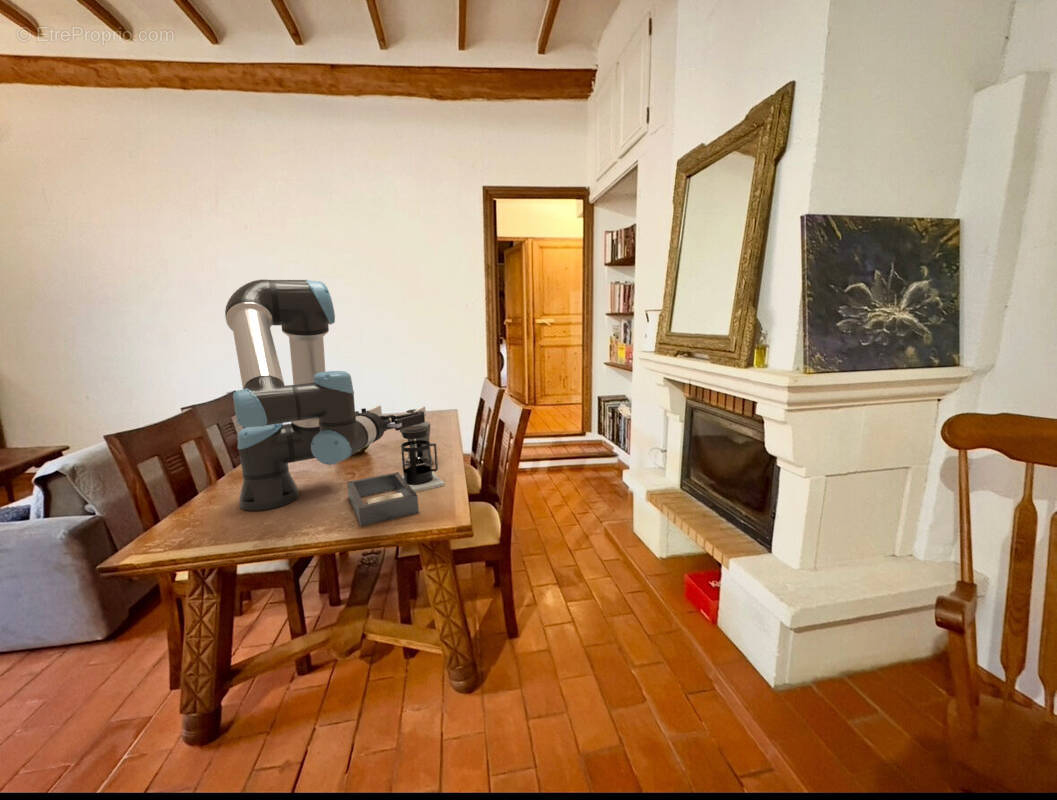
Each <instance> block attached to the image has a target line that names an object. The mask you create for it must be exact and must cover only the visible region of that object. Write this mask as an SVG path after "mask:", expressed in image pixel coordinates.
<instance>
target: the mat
mask: <svg viewBox="0 0 1057 800" xmlns="http://www.w3.org/2000/svg"><path fill="white" fill-rule="evenodd" d="M401 476H402V477H403V479H404V475H401ZM432 476H433V480H432V481H430V482H428V483H425V484H420V485H409V486H410V487H411V488H412V489H413V491H414V492H415V493H418V491H419V492H423V491H428V490H432V489H436V487H437V488H441V487H440V486H442V487H445V486H446V484H445V481H444V480H443V479H441V478H440V476H438V475H437V474H436V473H435V471H432ZM444 485H445V486H444ZM431 488H432V489H431ZM427 489H428V490H427ZM422 490H423V491H422Z"/></svg>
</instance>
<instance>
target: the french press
mask: <svg viewBox="0 0 1057 800" xmlns="http://www.w3.org/2000/svg"><path fill="white" fill-rule="evenodd" d="M417 409H418V408H417ZM417 409H408V410H406V411H405V413H406V414H410V413H413V412H414V411H415V410H417ZM428 430H429V427H427V426H415V425H414V426H410V427H406V428H403V429H401V430H399V433H400V434H401V437H402V438H404V439H406V440H407V439H415V440H414V441H408V440H407V441H405V442H403V443H401V445H400V448H401V450H400V451H401V460H402V461H401V462H402V472H403V475H402V476H404V480H405V481H406V482H407V483H408V485H420V484H425V483H428V482H430V481H432V480H433V476H432V471H433V472H437V471H438V470H439V469H438V468H439V467H438V465H439V464H438V451H437V443H434V442H433V443H431V442H430V440H429V441H426V440H416V439H418V438H423V437H426V436H427V435H428ZM414 444H415V448H410V447H407V446H409V445H414ZM416 444H417V448H416ZM422 444H426V446H423V447H422ZM431 447H433V448H434V450H433V451H434V452H433V453H434V463H435V468H432V467H433V464H431V457H432V454H431ZM427 449H429V458H428V457H423V451H424V450H427ZM405 452H406V453H408V454H410V458H409V459H408V458H406V459H405ZM415 452H416V457H415ZM417 454H418V457H417ZM428 463H430V466H426V464H428ZM408 466H410V467H408Z"/></svg>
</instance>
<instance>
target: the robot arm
mask: <svg viewBox="0 0 1057 800" xmlns="http://www.w3.org/2000/svg"><path fill="white" fill-rule="evenodd" d="M224 315H225V316H224V317H225V321H226V325H227V326H228V328H229V330H231V331H232V333H233V334H232V335H233V338H234V344H235V350H236V356H237V362H238V368H239V374H240V375H239V376H240V380H241V385H242V389H238V390H236V391H234V392H233V393H232V399H233V407H234V411H235V412H234V413H235V418H236V423H237V425H238V426H239V427H241V428H242V429H241V430H240V431H238V433H237V435H236V436H237V439H236V440H237V450H238V451H239V459H240V465H241V466H240V467H241V472H242V478H243V479H242V480H243V482H242V486H241V490H240V495H239V499H238V500H239V505H240V509H242V510H244V511H247V512H248V511H249V512H258V511H267V510H273V509H276V508H279V507H280V508H281V507H282V506H283V507H284V506H285V505H287V504H290V503H293V502H294V501H295V500H297V498H299V495H300V494H299V488H298V486H297V484H296V482H295V480H294V479H293V478H294V477H293V476H292V475H291V473H290V469H289V464H291V463H297V462H302V461H307V460H308V461H309V460H312V459H313V460H314V459H316V460H317V461H318V462H320V463H322V464H325V465H328V466H331V465H332V466H333V465H337V464H338V463H340V462H342V461H345V460H348V459H349V458H350V457H351V456H353V455H354V454H356V453H357V452H360V451H361V450H363V449H365V448H367V447H368V446H370V445H371V444H373V443H375V442H376V441H378V440H380V439H381V438H382V437H383V436H384V434H385V432H387V431H388V430H392V429H393V430H395V431H396V432H397V431H399V432H400V430H401V429H403V428H406V427H410V426H413V425H417V424H418V425H419V424H421V423H424V422H426V420H425V419H426V418H425V417H426V406H425V405H424V406H421V407H419V408H417V410H415V411H414V412H413V413H405V414H399V415H394V414H388V415H383V414H382V406H381V405H380V404H379V405H376V406H374V407H371V408H370V409H367V408H365V407H364V408H360V409H361V412H360V411H357V410H356V406H355V391H354V387H353V386H354V385H353V379H352V376H351V374H350V373H349V372H348V371H344V370H331V371H330V370H329V371H326V360H325V359H326V358H325V343H324V336H326V335H327V334H328V333H329V330H330V328H329V326H331V325H333V324H334V323H336V322H335V321H336V314H335V308H334V303H333V300H332V297H331V293H330V291H329V289H328V287H327V285H326V284H325V283H324V282H323V281H319V280H318V281H317V280H308V279H257V280H253V281H252V280H251V281H250V282H247V283H245V284H243V285H242V286H240V287H239V288H237V290H236V291H234V293H232V295H231V296H230V297H229V299H228V301H227V303H226V305H225V310H224ZM272 326H281V332H282V333H283V334H285V335H286V336H287V337H288V339H289V341H288V342H289V349H290V351H289V352H290V363H291V371H292V372H291V373H292V384H290V385H288V384H287V385H285V382H284V381H285V380H284V378H283V373H282V370H281V367H280V362H279V358H278V354H277V350H276V347H275V342H274V339H273V335H272V331H271V327H272ZM285 423H287V424H285Z"/></svg>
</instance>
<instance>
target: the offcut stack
mask: <svg viewBox="0 0 1057 800" xmlns="http://www.w3.org/2000/svg"><path fill="white" fill-rule="evenodd" d="M398 497H403V495H402V493H398V492H397V493H393V494H387V495H382V496H378V497H373V498H371V497H370V498H367V499H366V504H371V503H375V502H380V501H384V500H389V499H394V498H398Z"/></svg>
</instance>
